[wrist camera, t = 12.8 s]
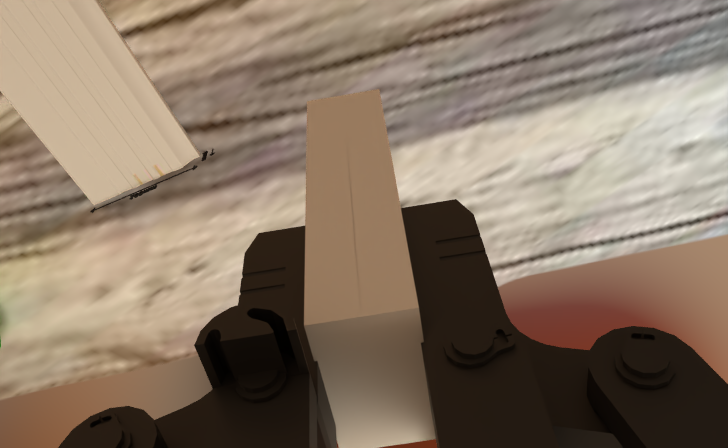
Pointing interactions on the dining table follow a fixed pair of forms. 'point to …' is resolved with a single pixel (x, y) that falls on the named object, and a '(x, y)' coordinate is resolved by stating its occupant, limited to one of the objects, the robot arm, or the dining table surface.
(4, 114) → the dining table surface
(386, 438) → the robot arm
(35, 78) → the baseboard
